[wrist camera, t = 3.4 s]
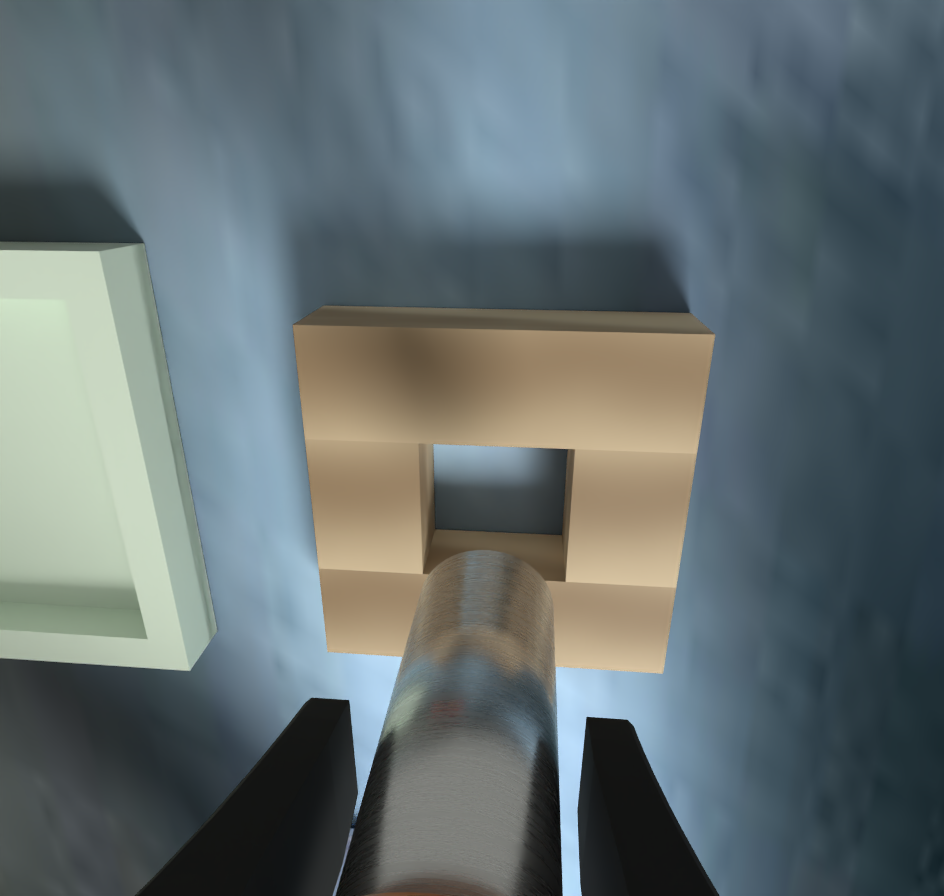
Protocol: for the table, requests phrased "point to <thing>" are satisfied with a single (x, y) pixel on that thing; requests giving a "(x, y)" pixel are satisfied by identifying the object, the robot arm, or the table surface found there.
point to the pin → (467, 744)
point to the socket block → (508, 425)
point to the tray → (93, 467)
